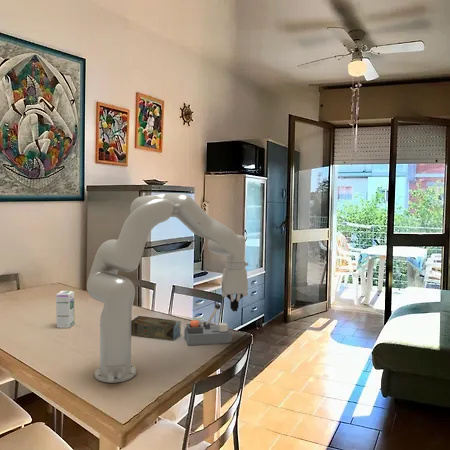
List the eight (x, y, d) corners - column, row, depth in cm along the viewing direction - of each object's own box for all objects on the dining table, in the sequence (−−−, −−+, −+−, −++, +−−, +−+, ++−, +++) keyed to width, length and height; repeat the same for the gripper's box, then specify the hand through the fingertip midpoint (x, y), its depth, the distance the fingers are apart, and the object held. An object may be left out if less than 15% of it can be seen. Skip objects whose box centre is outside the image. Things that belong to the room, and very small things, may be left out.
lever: (208, 328, 172) (222, 306, 173) (204, 326, 172) (217, 303, 172) (207, 327, 174) (220, 304, 175) (202, 324, 174) (216, 302, 174)
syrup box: (70, 328, 180) (70, 293, 179) (55, 327, 180) (55, 293, 179) (74, 323, 186) (74, 290, 184) (60, 323, 186) (60, 290, 184)
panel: (231, 342, 168) (232, 327, 168) (188, 345, 164) (188, 329, 164) (225, 334, 178) (225, 319, 177) (184, 336, 174) (184, 321, 173)
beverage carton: (173, 341, 168) (174, 324, 168) (128, 336, 173) (129, 319, 173) (181, 335, 176) (181, 319, 176) (137, 330, 181) (138, 314, 181)
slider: (227, 331, 168) (227, 325, 168) (220, 331, 168) (220, 325, 167) (225, 329, 171) (225, 322, 171) (218, 329, 170) (218, 323, 170)
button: (199, 329, 167) (199, 322, 167) (191, 330, 166) (191, 322, 166) (197, 327, 170) (198, 319, 170) (189, 327, 169) (190, 320, 169)
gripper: (250, 263, 179) (249, 307, 181) (215, 264, 176) (214, 308, 177) (255, 267, 172) (254, 312, 173) (219, 267, 168) (218, 314, 170)
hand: (234, 310), depth 175 cm, fingers closed
